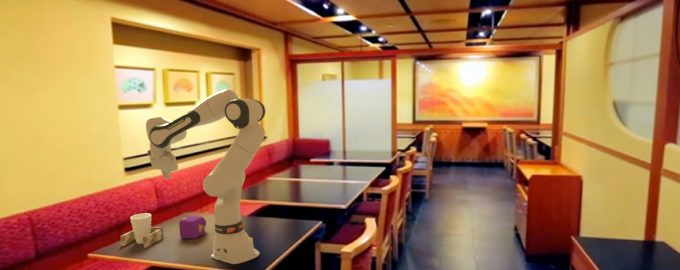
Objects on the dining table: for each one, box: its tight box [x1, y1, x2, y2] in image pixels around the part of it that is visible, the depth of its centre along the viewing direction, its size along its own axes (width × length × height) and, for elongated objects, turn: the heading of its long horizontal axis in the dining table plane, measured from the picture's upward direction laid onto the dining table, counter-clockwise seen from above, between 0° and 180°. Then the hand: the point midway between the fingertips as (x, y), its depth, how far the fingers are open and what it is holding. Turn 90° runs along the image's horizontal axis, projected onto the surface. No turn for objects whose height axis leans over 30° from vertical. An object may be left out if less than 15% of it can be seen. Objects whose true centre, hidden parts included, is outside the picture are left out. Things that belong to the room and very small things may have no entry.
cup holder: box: [119, 226, 164, 249], centre depth 208 cm, size 13×14×6 cm
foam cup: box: [130, 212, 152, 245], centre depth 208 cm, size 10×9×13 cm
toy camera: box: [178, 215, 207, 240], centre depth 215 cm, size 11×14×10 cm
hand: (167, 178), depth 199 cm, fingers closed
